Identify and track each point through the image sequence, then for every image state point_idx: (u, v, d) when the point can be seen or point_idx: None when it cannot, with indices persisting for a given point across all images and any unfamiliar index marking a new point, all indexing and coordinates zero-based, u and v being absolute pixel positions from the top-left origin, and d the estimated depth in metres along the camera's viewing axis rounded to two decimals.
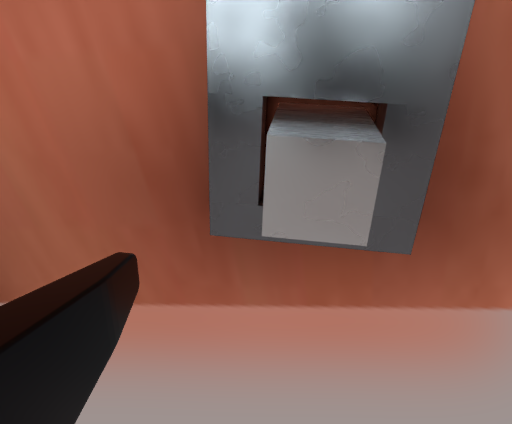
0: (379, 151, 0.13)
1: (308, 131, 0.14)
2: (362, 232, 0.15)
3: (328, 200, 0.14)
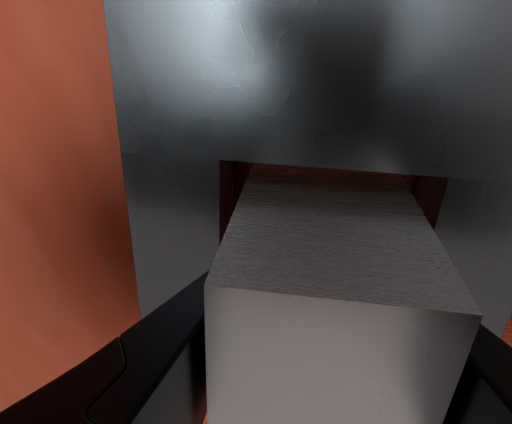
0: (464, 329, 0.06)
1: (299, 263, 0.06)
2: None
3: (341, 408, 0.07)
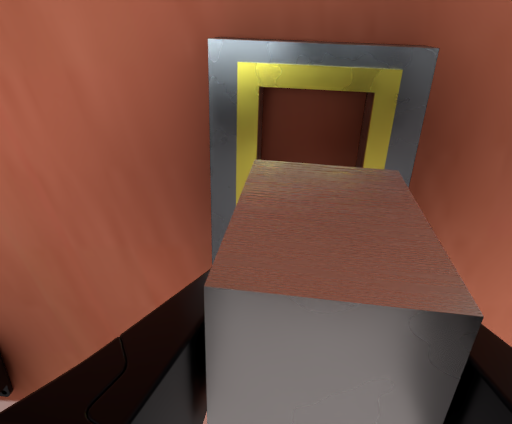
0: (464, 330, 0.06)
1: (299, 264, 0.06)
2: None
3: (342, 409, 0.07)
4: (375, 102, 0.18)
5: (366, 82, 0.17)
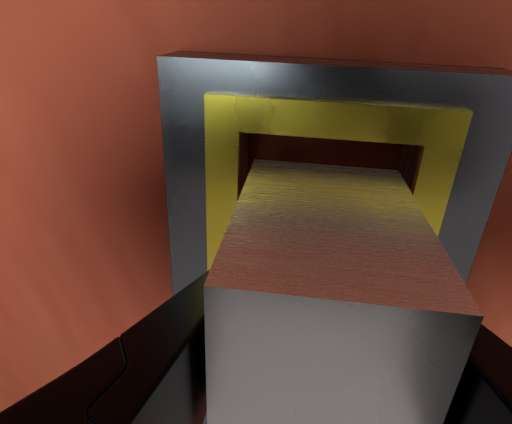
0: (464, 330, 0.06)
1: (299, 263, 0.06)
2: None
3: (342, 409, 0.07)
4: (424, 160, 0.11)
5: (411, 130, 0.11)
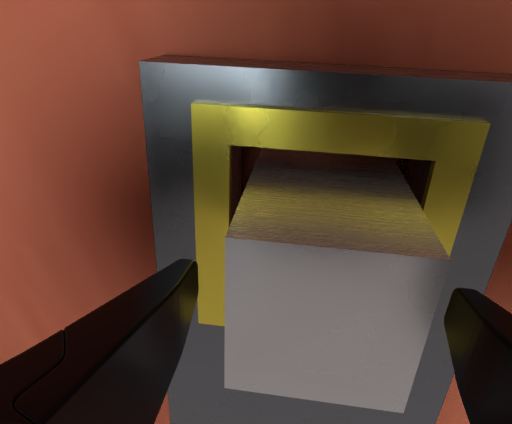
0: (436, 272, 0.07)
1: (303, 223, 0.08)
2: (397, 393, 0.08)
3: (337, 345, 0.08)
4: (435, 176, 0.10)
5: (421, 143, 0.10)
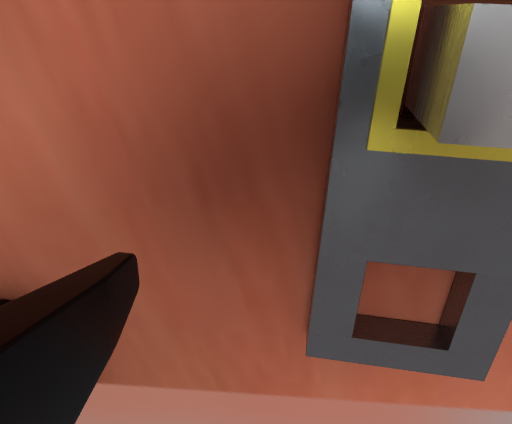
0: None
1: None
2: None
3: None
4: None
5: None
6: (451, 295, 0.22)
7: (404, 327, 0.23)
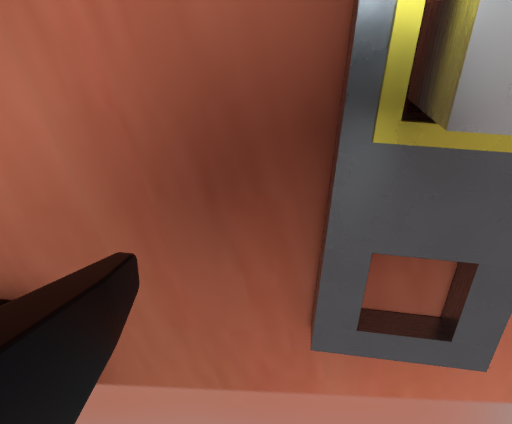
0: None
1: None
2: None
3: None
4: None
5: None
6: (453, 287, 0.22)
7: (407, 320, 0.23)
